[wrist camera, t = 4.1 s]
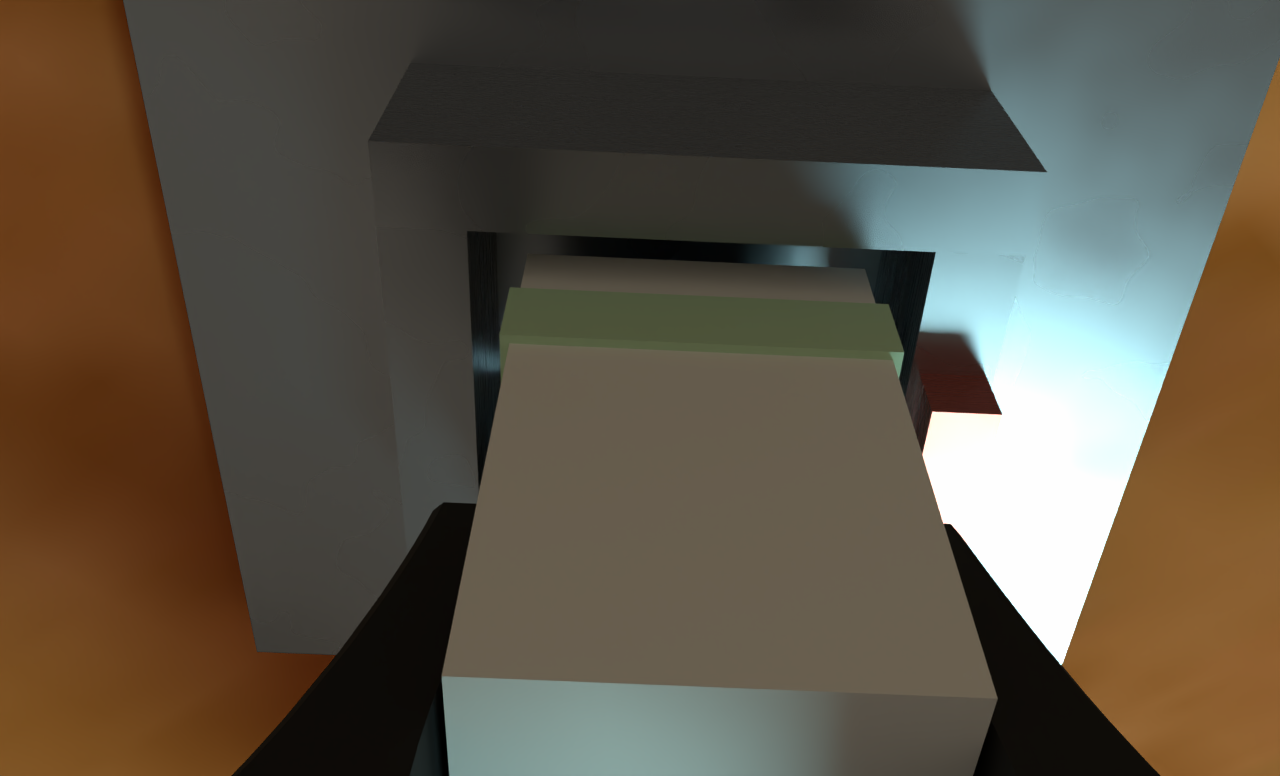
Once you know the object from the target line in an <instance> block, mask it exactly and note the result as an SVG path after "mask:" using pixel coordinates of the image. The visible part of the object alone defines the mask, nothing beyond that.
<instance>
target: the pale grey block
mask: <svg viewBox="0 0 1280 776" xmlns="http://www.w3.org/2000/svg"><path fill="white" fill-rule="evenodd" d="M499 338H500V371H501V386H500V391H499V396H498V401H497V406H496V411H495V416H494V421H493V426H492V431H491V436H490V441H489V445H488V450H487V455H486V460H485V465H484V470H483V475H482V480H481V485H480V490H479V495H478V500H477V504H476V509H475V514H474V519H473V524H472V529H471V534H470V539H469V544H468V549H467V554H466V558H465V563H464V568H463V573H462V578H461V583H460V588H459V593H458V598H457V603H456V608H455V613H454V617H453V622H452V627H451V632H450V637H449V642H448V647H447V652H446V657H445V662H444V667H443V671H442V689H443V702H444V714H445V727H446V740H447V753H448V765H449V776H973V774H974V771H975V768H976V765H977V762H978V758H979V755H980V752H981V749H982V746H983V743H984V740H985V737H986V734H987V730H988V727H989V724H990V721H991V718H992V715H993V712H994V709H995V706H996V702H997V699H998V698H997V695H996V691H995V688H994V685H993V682H992V679H991V675H990V672H989V669H988V666H987V662H986V659H985V656H984V653H983V649H982V646H981V643H980V640H979V636H978V633H977V630H976V627H975V624H974V620H973V617H972V614H971V611H970V607H969V604H968V601H967V598H966V594H965V591H964V588H963V585H962V581H961V578H960V575H959V572H958V569H957V565H956V562H955V559H954V556H953V552H952V549H951V546H950V543H949V539H948V536H947V533H946V530H945V526H944V523H943V520H942V517H941V514H940V510H939V507H938V504H937V501H936V497H935V494H934V491H933V488H932V484H931V481H930V478H929V475H928V471H927V468H926V465H925V462H924V459H923V455H922V452H921V449H920V446H919V442H918V439H917V436H916V433H915V429H914V426H913V423H912V420H911V416H910V413H909V410H908V407H907V404H906V400H905V397H904V394H903V391H902V387H901V384H900V381H899V376H900V371H901V366H902V361H903V356H904V350H903V347H902V344H901V341H900V338H899V335H898V332H897V329H896V326H895V323H894V319H893V316H892V313H891V310H890V307H889V304H876V303H875V300H874V297H873V294H872V290H871V287H870V284H869V281H868V277H867V274H866V271H865V269H858V268H836V267H813V266H791V265H769V264H746V263H724V262H702V261H679V260H657V259H635V258H613V257H590V256H568V255H546V254H527V259H526V264H525V269H524V273H523V278H522V283H521V288H514V287H510V289H509V293H508V298H507V302H506V307H505V311H504V316H503V321H502V325H501V330H500V334H499Z"/></svg>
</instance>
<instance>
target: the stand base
mask: <svg viewBox="0 0 1280 776" xmlns="http://www.w3.org/2000/svg"><path fill="white" fill-rule="evenodd" d="M123 2H124V7H125V12H126V17H127V22H128V27H129V31H130V36H131V41H132V46H133V51H134V56H135V61H136V65H137V70H138V75H139V80H140V85H141V90H142V95H143V99H144V104H145V109H146V114H147V119H148V124H149V129H150V134H151V138H152V143H153V148H154V153H155V158H156V163H157V168H158V172H159V177H160V182H161V187H162V192H163V197H164V202H165V206H166V211H167V216H168V221H169V226H170V231H171V236H172V241H173V245H174V250H175V255H176V260H177V265H178V270H179V275H180V279H181V284H182V289H183V294H184V299H185V304H186V309H187V313H188V318H189V323H190V328H191V333H192V338H193V343H194V348H195V352H196V357H197V362H198V367H199V372H200V377H201V382H202V386H203V391H204V396H205V401H206V406H207V411H208V416H209V420H210V425H211V430H212V435H213V440H214V445H215V450H216V454H217V459H218V464H219V469H220V474H221V479H222V484H223V489H224V493H225V498H226V503H227V508H228V513H229V518H230V523H231V527H232V532H233V537H234V542H235V547H236V552H237V557H238V561H239V566H240V571H241V576H242V581H243V586H244V591H245V596H246V600H247V605H248V610H249V615H250V620H251V625H252V630H253V634H254V639H255V644H256V649H257V652H274V653H299V654H324V655H337V653H338V652H339V651H340V650H341V648H342V647H343V646H344V644H345V643H346V642H347V640H348V639H349V637H350V636H351V635H352V633H353V632H354V631H355V629H356V628H357V627H358V625H359V624H360V622H361V621H362V620H363V618H364V617H365V616H366V614H367V613H368V611H369V610H370V609H371V607H372V606H373V605H374V603H375V602H376V601H377V599H378V598H379V596H380V595H381V593H382V592H383V590H384V589H385V587H386V586H387V584H388V583H389V581H390V580H391V579H392V577H393V576H394V574H395V573H396V571H397V570H398V568H399V567H400V565H401V563H402V562H403V560H404V559H405V557H406V556H407V554H408V552H409V551H410V549H411V548H412V546H413V544H414V543H415V541H416V539H417V538H418V536H419V534H420V533H421V531H422V529H423V528H424V526H425V524H426V522H427V520H428V518H429V517H430V515H431V513H432V511H433V510H434V509H435V508H437V507H438V506H439V505H441V504H442V503H443V502H451V503H475V504H477V500H478V495H479V490H480V485H481V480H482V475H483V470H484V465H485V460H486V455H487V450H488V445H489V441H490V436H491V431H492V426H493V421H494V416H495V411H496V406H497V401H498V396H499V391H500V386H501V371H500V338H499V334H500V330H501V325H502V321H503V316H504V311H505V307H506V302H507V298H508V293H509V289H510V287H514V288H521V283H522V278H523V273H524V269H525V264H526V259H527V254H546V255H568V256H590V257H613V258H635V259H657V260H679V261H702V262H724V263H746V264H769V265H791V266H813V267H836V268H858V269H865V271H866V274H867V277H868V281H869V284H870V287H871V290H872V294H873V297H874V300H875V303H876V304H889V307H890V310H891V313H892V316H893V319H894V323H895V326H896V329H897V332H898V335H899V338H900V341H901V344H902V347H903V350H904V356H903V361H902V366H901V371H900V376H899V381H900V384H901V387H902V391H903V394H904V397H905V400H906V404H907V407H908V410H909V413H910V416H911V420H912V423H913V426H914V429H915V433H916V436H917V439H918V442H919V446H920V449H921V452H922V455H923V459H924V462H925V465H926V468H927V471H928V475H929V478H930V481H931V484H932V488H933V491H934V494H935V497H936V501H937V504H938V507H939V510H940V514H941V517H942V520H943V523H946V524H952V526H953V527H954V528H955V529H956V530H957V531H958V532H959V534H960V535H961V536H962V538H963V539H964V540H965V542H966V543H967V544H968V546H969V547H970V548H971V550H972V551H973V552H974V554H975V555H976V556H977V558H978V559H979V560H980V562H981V563H982V564H983V566H984V567H985V568H986V570H987V571H988V572H989V574H990V575H991V576H992V578H993V579H994V580H995V582H996V583H997V584H998V586H999V587H1000V588H1001V590H1002V591H1003V592H1004V594H1005V595H1006V596H1007V597H1008V599H1009V600H1010V601H1011V603H1012V604H1013V605H1014V607H1015V608H1016V609H1017V610H1018V612H1019V613H1020V614H1021V616H1022V617H1023V618H1024V619H1025V621H1026V622H1027V623H1028V625H1029V626H1030V627H1031V628H1032V630H1033V631H1034V632H1035V633H1036V635H1037V636H1038V637H1039V638H1040V640H1041V641H1042V642H1043V643H1044V645H1045V646H1046V647H1047V648H1048V650H1049V651H1050V652H1051V653H1052V654H1053V656H1054V657H1055V658H1056V659H1057V660H1058V662H1059V663H1060V664H1061V665H1062V662H1063V659H1064V657H1065V654H1066V651H1067V648H1068V646H1069V643H1070V640H1071V637H1072V634H1073V632H1074V629H1075V626H1076V623H1077V620H1078V618H1079V615H1080V612H1081V609H1082V607H1083V604H1084V601H1085V598H1086V595H1087V593H1088V590H1089V587H1090V584H1091V581H1092V579H1093V576H1094V573H1095V570H1096V568H1097V565H1098V562H1099V559H1100V556H1101V554H1102V551H1103V548H1104V545H1105V542H1106V540H1107V537H1108V534H1109V531H1110V528H1111V526H1112V523H1113V520H1114V517H1115V515H1116V512H1117V509H1118V506H1119V503H1120V501H1121V498H1122V495H1123V492H1124V489H1125V487H1126V484H1127V481H1128V478H1129V476H1130V473H1131V470H1132V467H1133V464H1134V462H1135V459H1136V456H1137V453H1138V450H1139V448H1140V445H1141V442H1142V439H1143V436H1144V434H1145V431H1146V428H1147V425H1148V423H1149V420H1150V417H1151V414H1152V411H1153V409H1154V406H1155V403H1156V400H1157V397H1158V395H1159V392H1160V389H1161V386H1162V384H1163V381H1164V378H1165V375H1166V372H1167V370H1168V367H1169V364H1170V361H1171V358H1172V356H1173V353H1174V350H1175V347H1176V344H1177V342H1178V339H1179V336H1180V333H1181V331H1182V328H1183V325H1184V322H1185V319H1186V317H1187V314H1188V311H1189V308H1190V305H1191V303H1192V300H1193V297H1194V294H1195V292H1196V289H1197V286H1198V283H1199V280H1200V278H1201V275H1202V272H1203V269H1204V266H1205V264H1206V261H1207V258H1208V255H1209V253H1210V250H1211V247H1212V244H1213V241H1214V239H1215V236H1216V233H1217V230H1218V227H1219V225H1220V222H1221V219H1222V216H1223V213H1224V211H1225V208H1226V205H1227V202H1228V200H1229V197H1230V194H1231V191H1232V188H1233V186H1234V183H1235V180H1236V177H1237V174H1238V172H1239V169H1240V166H1241V163H1242V161H1243V158H1244V155H1245V152H1246V149H1247V147H1248V144H1249V141H1250V138H1251V135H1252V133H1253V130H1254V127H1255V124H1256V121H1257V119H1258V116H1259V113H1260V110H1261V108H1262V105H1263V102H1264V99H1265V96H1266V94H1267V91H1268V88H1269V85H1270V82H1271V80H1272V77H1273V74H1274V71H1275V69H1276V66H1277V63H1278V60H1279V57H1280V0H123Z"/></svg>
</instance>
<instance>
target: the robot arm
mask: <svg viewBox="0 0 1280 776" xmlns="http://www.w3.org/2000/svg"><path fill="white" fill-rule="evenodd" d="M475 509H476V504H475V503H451V502H443V503H442V504H441V505H439V506H438V507H437V508H435V509H434V510H433V511H432V513H431V515H430V517H429V518H428V520H427V522H426V524H425V526H424V528H423V529H422V531H421V533H420V534H419V536H418V538H417V539H416V541H415V543H414V544H413V546H412V548H411V549H410V551H409V552H408V554H407V556H406V557H405V559H404V560H403V562H402V563H401V565H400V567H399V568H398V570H397V571H396V573H395V574H394V576H393V577H392V579H391V580H390V581H389V583H388V584H387V586H386V587H385V589H384V590H383V592H382V593H381V595H380V596H379V598H378V599H377V601H376V602H375V603H374V605H373V606H372V607H371V609H370V610H369V611H368V613H367V614H366V616H365V617H364V618H363V620H362V621H361V622H360V624H359V625H358V627H357V628H356V629H355V631H354V632H353V633H352V635H351V636H350V637H349V639H348V640H347V642H346V643H345V644H344V646H343V647H342V648H341V650H340V651H339V652H338V653H337V655H336V656H335V657H334V659H333V660H332V661H331V662H330V664H329V665H328V666H327V667H326V669H325V670H324V671H323V672H322V673H321V675H320V676H319V677H318V678H317V679H316V681H315V682H314V683H313V684H312V685H311V687H310V688H309V689H308V690H307V692H306V693H305V694H304V695H303V696H302V698H301V699H300V700H299V701H298V702H297V704H296V705H295V706H294V707H293V708H292V710H291V711H290V712H289V713H288V715H287V716H286V717H285V718H284V719H283V720H282V722H281V723H280V724H279V725H278V726H277V727H276V728H275V729H274V731H273V732H272V733H271V734H270V735H269V736H268V737H267V738H266V739H265V741H264V742H263V743H262V744H261V745H260V746H259V747H258V748H257V749H256V750H255V752H254V753H253V754H252V755H251V756H250V757H249V758H248V759H247V760H246V761H245V762H244V763H243V764H242V765H241V766H240V767H239V769H238V770H237V771H236V772H235V773H234V774H233V775H232V776H449V765H448V753H447V740H446V727H445V714H444V702H443V689H442V671H443V667H444V662H445V657H446V652H447V647H448V642H449V637H450V632H451V627H452V622H453V617H454V613H455V608H456V603H457V598H458V593H459V588H460V583H461V578H462V573H463V568H464V563H465V558H466V554H467V549H468V544H469V539H470V534H471V529H472V524H473V519H474V514H475ZM944 526H945V530H946V533H947V536H948V539H949V543H950V546H951V549H952V552H953V556H954V559H955V562H956V565H957V569H958V572H959V575H960V578H961V581H962V585H963V588H964V591H965V594H966V598H967V601H968V604H969V607H970V611H971V614H972V617H973V620H974V624H975V627H976V630H977V633H978V636H979V640H980V643H981V646H982V649H983V653H984V656H985V659H986V662H987V666H988V669H989V672H990V675H991V679H992V682H993V685H994V688H995V691H996V695H997V698H998V699H997V702H996V706H995V709H994V712H993V715H992V718H991V721H990V724H989V727H988V730H987V734H986V737H985V740H984V743H983V746H982V749H981V752H980V755H979V758H978V762H977V765H976V768H975V771H974V774H973V776H1160V775H1159V774H1158V773H1157V772H1156V771H1155V770H1154V769H1153V768H1152V767H1151V765H1150V764H1149V763H1148V762H1147V761H1146V760H1145V759H1144V758H1143V757H1142V756H1141V755H1140V754H1139V753H1138V752H1137V751H1136V749H1135V748H1134V747H1133V746H1132V745H1131V744H1130V743H1129V742H1128V741H1127V740H1126V739H1125V738H1124V736H1123V735H1122V734H1121V733H1120V732H1119V731H1118V730H1117V729H1116V728H1115V727H1114V726H1113V725H1112V723H1111V722H1110V721H1109V720H1108V719H1107V718H1106V717H1105V716H1104V714H1103V713H1102V712H1101V711H1100V710H1099V709H1098V708H1097V706H1096V705H1095V704H1094V703H1093V702H1092V701H1091V700H1090V698H1089V697H1088V696H1087V695H1086V694H1085V693H1084V691H1083V690H1082V689H1081V688H1080V687H1079V685H1078V684H1077V683H1076V682H1075V681H1074V679H1073V678H1072V677H1071V676H1070V675H1069V673H1068V672H1067V671H1066V670H1065V669H1064V667H1063V666H1062V665H1061V664H1060V663H1059V662H1058V660H1057V659H1056V658H1055V657H1054V656H1053V654H1052V653H1051V652H1050V651H1049V650H1048V648H1047V647H1046V646H1045V645H1044V643H1043V642H1042V641H1041V640H1040V638H1039V637H1038V636H1037V635H1036V633H1035V632H1034V631H1033V630H1032V628H1031V627H1030V626H1029V625H1028V623H1027V622H1026V621H1025V619H1024V618H1023V617H1022V616H1021V614H1020V613H1019V612H1018V610H1017V609H1016V608H1015V607H1014V605H1013V604H1012V603H1011V601H1010V600H1009V599H1008V597H1007V596H1006V595H1005V594H1004V592H1003V591H1002V590H1001V588H1000V587H999V586H998V584H997V583H996V582H995V580H994V579H993V578H992V576H991V575H990V574H989V572H988V571H987V570H986V568H985V567H984V566H983V564H982V563H981V562H980V560H979V559H978V558H977V556H976V555H975V554H974V552H973V551H972V550H971V548H970V547H969V546H968V544H967V543H966V542H965V540H964V539H963V538H962V536H961V535H960V534H959V532H958V531H957V530H956V529H955V528H954V527H953V526H952V524H946V523H944Z"/></svg>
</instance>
